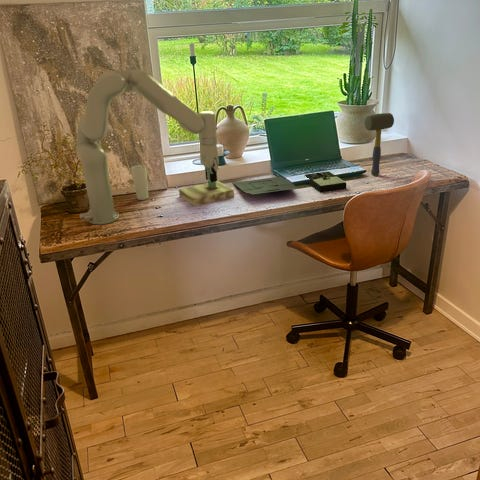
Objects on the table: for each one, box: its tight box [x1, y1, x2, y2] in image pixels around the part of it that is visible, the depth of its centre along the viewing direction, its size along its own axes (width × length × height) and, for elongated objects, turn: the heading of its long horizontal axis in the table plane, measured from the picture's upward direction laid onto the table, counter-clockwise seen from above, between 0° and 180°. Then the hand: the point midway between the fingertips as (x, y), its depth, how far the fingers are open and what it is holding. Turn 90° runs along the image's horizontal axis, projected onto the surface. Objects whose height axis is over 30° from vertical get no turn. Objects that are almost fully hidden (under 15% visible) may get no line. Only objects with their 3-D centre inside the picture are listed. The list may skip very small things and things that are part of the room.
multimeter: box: [304, 171, 347, 194], centre depth 225 cm, size 13×19×5 cm
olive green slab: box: [178, 180, 235, 207], centre depth 218 cm, size 20×16×4 cm
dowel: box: [207, 165, 216, 188], centre depth 216 cm, size 4×4×12 cm
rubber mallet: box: [364, 112, 395, 177], centre depth 229 cm, size 12×8×30 cm, turn 108°
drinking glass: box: [130, 164, 150, 201], centre depth 217 cm, size 7×7×15 cm
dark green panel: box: [232, 176, 297, 195], centre depth 224 cm, size 24×30×4 cm
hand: (211, 179), depth 217 cm, fingers closed on dowel, 3 cm apart
